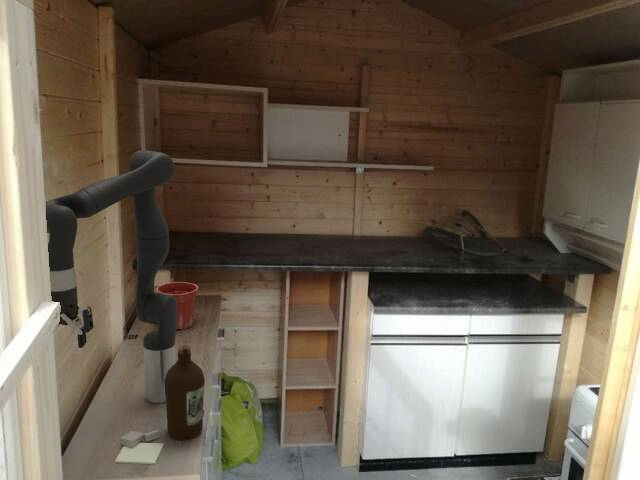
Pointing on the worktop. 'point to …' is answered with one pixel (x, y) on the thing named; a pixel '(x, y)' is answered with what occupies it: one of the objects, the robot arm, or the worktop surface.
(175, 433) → the olive oil
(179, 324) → the flower pot
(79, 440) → the worktop surface
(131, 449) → the mat
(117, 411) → the worktop surface
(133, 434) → the lighter
